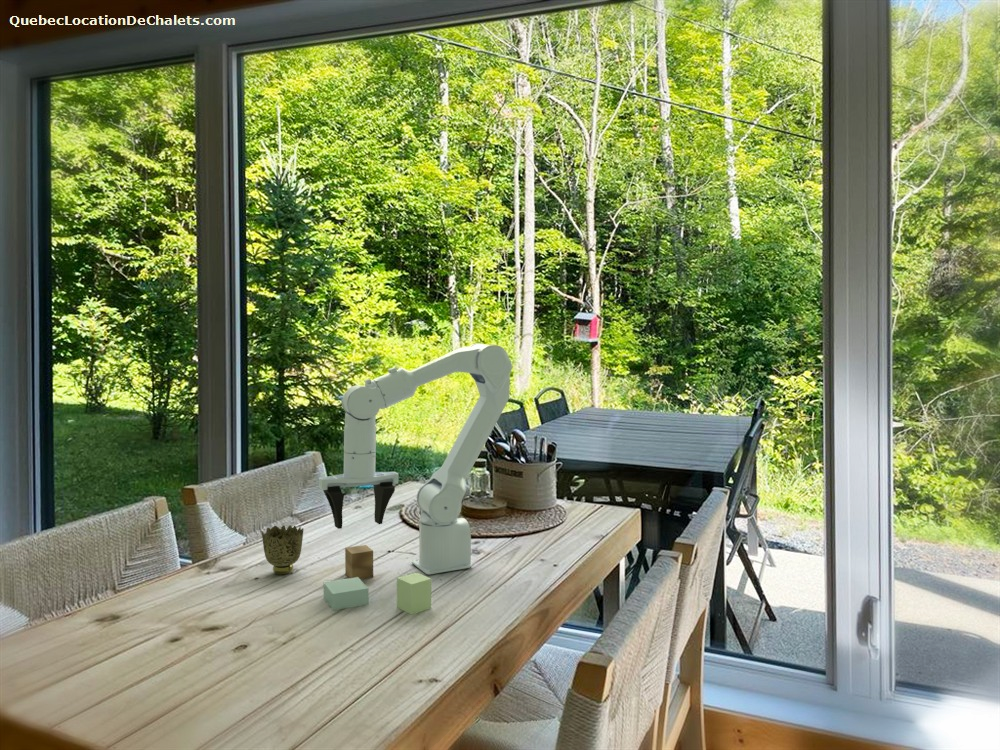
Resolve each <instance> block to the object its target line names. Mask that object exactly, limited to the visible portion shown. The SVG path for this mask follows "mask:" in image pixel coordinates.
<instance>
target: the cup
mask: <svg viewBox="0 0 1000 750" xmlns="http://www.w3.org/2000/svg"><path fill="white" fill-rule="evenodd" d="M303 537H304V527H301V526H299V528H297V526H296V525H294V526H292V525H291V524H290V525H288V526H287V528H286V525H282V526H281V528H280V527H279V526H277V525H273V526H271V528H270V527H267V528H266V532H264V531H261V539H262V545H263V552H264V557H265V559H266V561H267V562H268V564H270V565H271V566H273V567H272V570H273V573H274V574H276V575H288V574H290V573H292V572H293V570H294V564H295V563H296V562H297V561H298V560H299V558H300V556H301V553H302V546H303Z"/></svg>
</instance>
